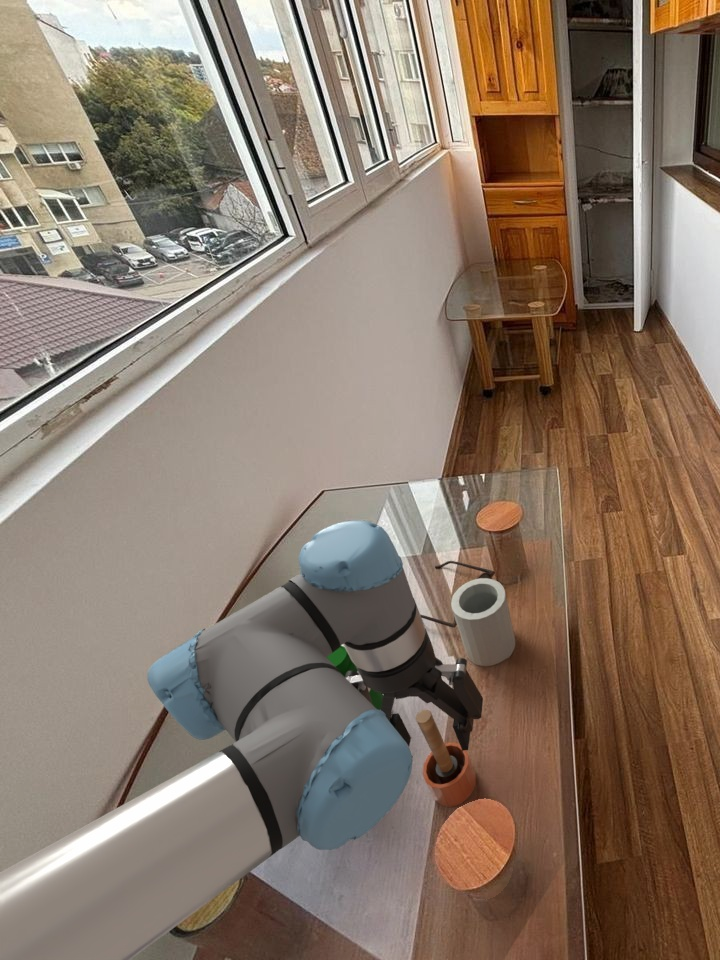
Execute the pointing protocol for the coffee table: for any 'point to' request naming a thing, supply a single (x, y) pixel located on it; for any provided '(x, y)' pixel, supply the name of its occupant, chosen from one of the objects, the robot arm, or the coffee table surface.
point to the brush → (438, 748)
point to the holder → (456, 788)
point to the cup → (484, 621)
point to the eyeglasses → (488, 575)
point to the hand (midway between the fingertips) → (436, 744)
